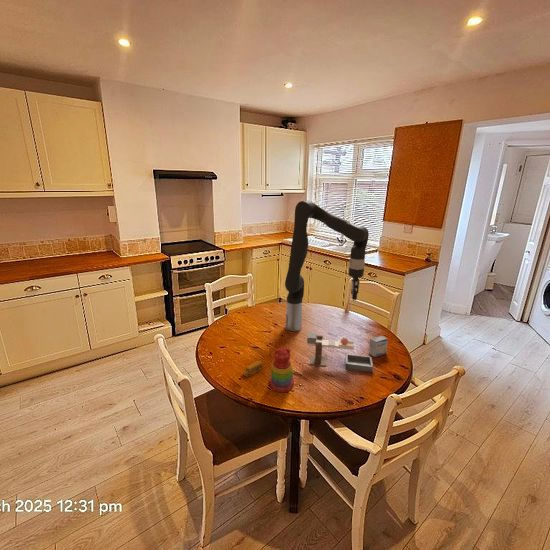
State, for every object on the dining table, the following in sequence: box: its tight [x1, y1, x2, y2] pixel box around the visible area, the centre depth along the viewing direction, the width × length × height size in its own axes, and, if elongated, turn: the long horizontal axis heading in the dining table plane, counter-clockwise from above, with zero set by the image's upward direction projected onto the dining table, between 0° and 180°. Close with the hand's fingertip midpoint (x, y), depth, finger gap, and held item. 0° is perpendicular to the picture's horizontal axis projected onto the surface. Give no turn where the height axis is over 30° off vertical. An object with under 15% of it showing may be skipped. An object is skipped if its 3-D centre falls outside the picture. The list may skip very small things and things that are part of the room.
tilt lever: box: [306, 332, 355, 351], centre depth 142 cm, size 22×6×4 cm, turn 78°
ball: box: [340, 337, 349, 345], centre depth 140 cm, size 3×3×3 cm
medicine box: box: [368, 335, 388, 358], centre depth 151 cm, size 8×4×9 cm, turn 117°
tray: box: [344, 353, 374, 374], centre depth 142 cm, size 12×9×3 cm
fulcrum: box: [309, 334, 328, 367], centre depth 144 cm, size 8×8×12 cm
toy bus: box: [242, 360, 263, 378], centre depth 137 cm, size 3×10×4 cm, turn 134°
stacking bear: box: [268, 347, 295, 393], centre depth 126 cm, size 11×10×18 cm
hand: (353, 296), depth 155 cm, fingers open, 8 cm apart
